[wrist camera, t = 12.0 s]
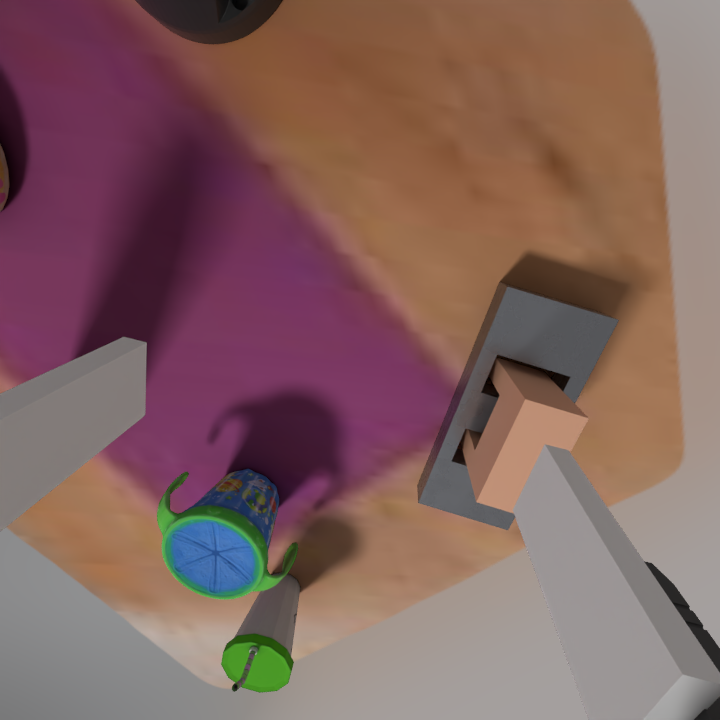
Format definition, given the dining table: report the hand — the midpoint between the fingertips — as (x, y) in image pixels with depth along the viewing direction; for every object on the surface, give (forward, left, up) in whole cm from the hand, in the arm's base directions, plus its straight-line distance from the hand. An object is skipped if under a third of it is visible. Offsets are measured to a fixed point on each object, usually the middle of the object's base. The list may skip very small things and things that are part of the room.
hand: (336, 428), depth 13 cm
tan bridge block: (+8, +15, -27) cm, 32 cm away
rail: (+8, +15, -27) cm, 32 cm away
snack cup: (+28, -8, -27) cm, 40 cm away
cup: (+41, -1, -27) cm, 49 cm away
